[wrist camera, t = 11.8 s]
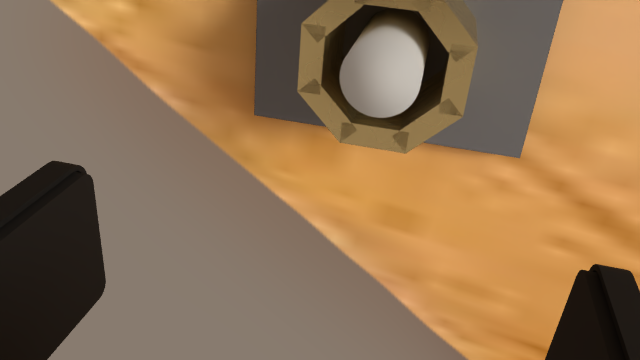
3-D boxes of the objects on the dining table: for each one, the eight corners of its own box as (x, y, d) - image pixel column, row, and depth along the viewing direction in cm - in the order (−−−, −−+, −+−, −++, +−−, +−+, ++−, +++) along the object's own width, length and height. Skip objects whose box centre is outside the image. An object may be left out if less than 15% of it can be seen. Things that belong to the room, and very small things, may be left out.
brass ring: (331, -46, 27) (304, -30, 22) (485, -28, 26) (489, -9, 21) (319, 97, 30) (294, 134, 26) (455, 118, 29) (453, 161, 25)
